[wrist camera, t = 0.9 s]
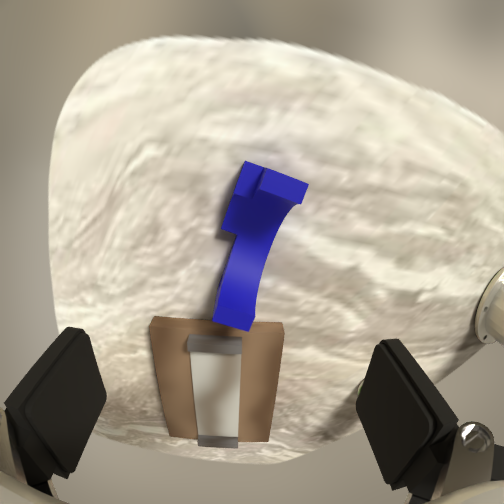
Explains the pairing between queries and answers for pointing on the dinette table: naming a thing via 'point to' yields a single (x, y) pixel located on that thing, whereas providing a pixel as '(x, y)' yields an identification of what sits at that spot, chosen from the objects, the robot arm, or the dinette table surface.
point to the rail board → (217, 379)
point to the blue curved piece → (252, 238)
